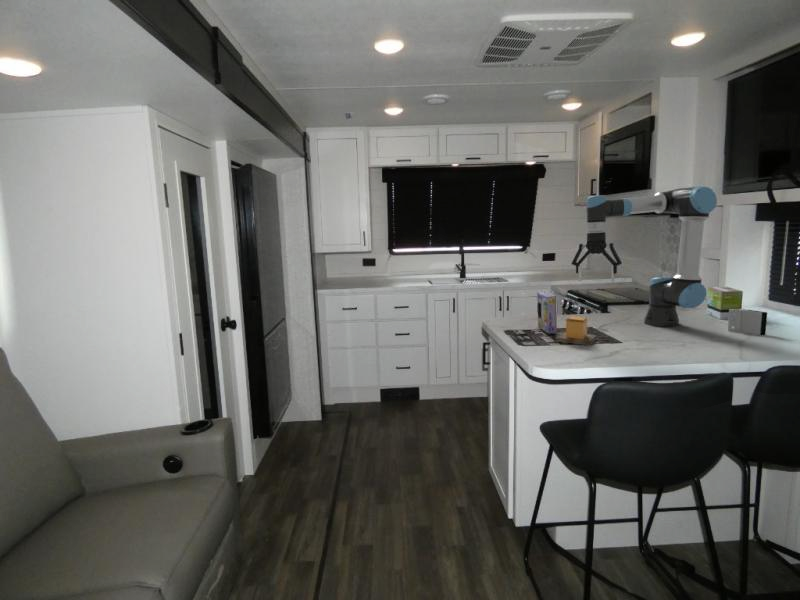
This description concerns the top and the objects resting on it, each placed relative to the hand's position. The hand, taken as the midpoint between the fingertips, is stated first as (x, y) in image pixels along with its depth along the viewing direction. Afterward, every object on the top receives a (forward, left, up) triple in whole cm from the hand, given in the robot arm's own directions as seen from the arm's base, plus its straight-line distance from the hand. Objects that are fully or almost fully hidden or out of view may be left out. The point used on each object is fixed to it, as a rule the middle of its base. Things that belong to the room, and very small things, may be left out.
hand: (596, 281), depth 215 cm
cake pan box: (+23, -4, -25) cm, 34 cm away
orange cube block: (+5, +12, -23) cm, 26 cm away
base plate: (+5, +12, -25) cm, 28 cm away
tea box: (-47, -74, -25) cm, 92 cm away
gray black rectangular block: (-56, -37, -25) cm, 72 cm away
